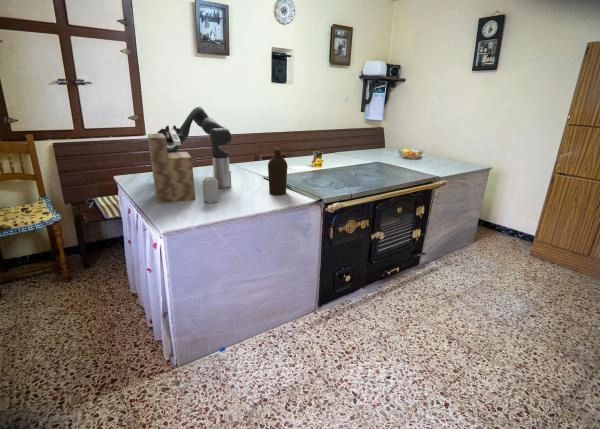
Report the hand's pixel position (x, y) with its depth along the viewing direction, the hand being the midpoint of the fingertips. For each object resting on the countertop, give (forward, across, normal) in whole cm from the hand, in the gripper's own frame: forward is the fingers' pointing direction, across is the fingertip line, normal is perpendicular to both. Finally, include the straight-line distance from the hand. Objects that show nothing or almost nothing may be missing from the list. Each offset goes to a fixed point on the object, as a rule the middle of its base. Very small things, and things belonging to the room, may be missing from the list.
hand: (171, 127), depth 180 cm
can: (+5, -13, -43) cm, 45 cm away
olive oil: (+5, -50, -43) cm, 66 cm away
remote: (+5, 0, -8) cm, 9 cm away
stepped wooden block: (-7, +3, -36) cm, 37 cm away
